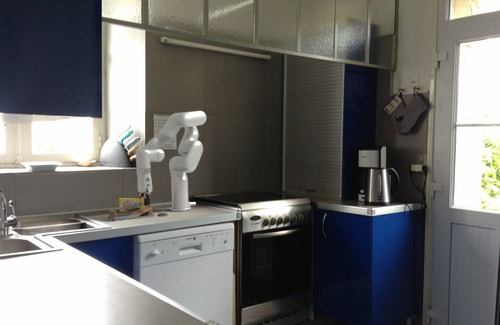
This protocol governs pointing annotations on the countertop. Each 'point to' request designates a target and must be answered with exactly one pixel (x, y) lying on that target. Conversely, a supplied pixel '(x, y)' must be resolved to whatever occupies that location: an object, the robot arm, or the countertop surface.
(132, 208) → the candy box
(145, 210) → the ramp
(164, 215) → the cradle
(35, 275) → the countertop surface
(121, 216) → the runway
